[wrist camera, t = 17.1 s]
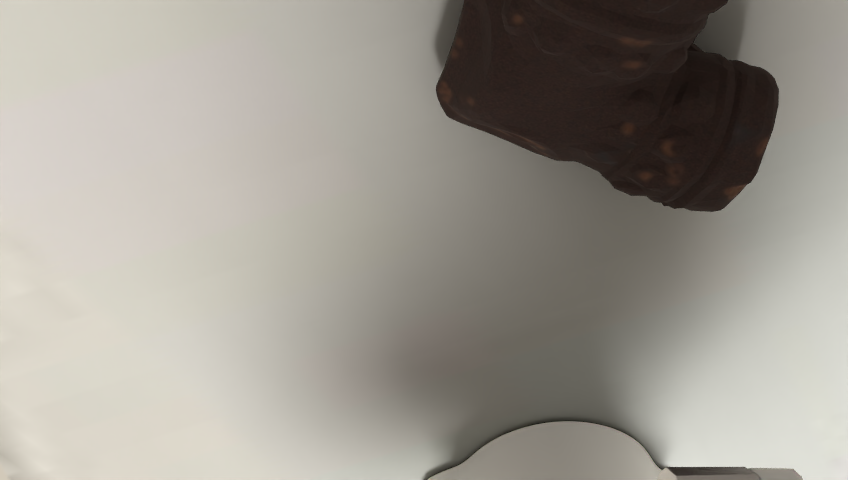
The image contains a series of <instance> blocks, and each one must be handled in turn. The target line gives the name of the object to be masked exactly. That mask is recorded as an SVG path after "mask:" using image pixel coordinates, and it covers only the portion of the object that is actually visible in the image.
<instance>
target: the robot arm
mask: <svg viewBox="0 0 848 480" xmlns="http://www.w3.org/2000/svg"><path fill="white" fill-rule="evenodd" d="M428 480H803V479H802V477H801V476H800V475H799V474H798V473H797V472H796V471H795V470H794V469H787V468H749V469H747V468H746V467H666V468H665V469H663V470H661V469H660V468H659V467H658V466H657V465H656V464H655V463H654V462H653V460H652V458H651V457H650V455H649V454H648V452H647V451H646V450H645V448H644V447H643V446H642V445H641V444H639V443H638V442H637V441H636V440H634V439H633V438H632V437H630V436H628V435H627V434H625V433H623V432H621V431H618V430H616V429H613V428H610V427H607V426H603V425H599V424H594V423H587V422H576V421H561V422H549V423H542V424H536V425H532V426H528V427H524V428H521V429H517V430H515V431H512V432H509V433H507V434H504V435H502V436H500V437H498V438H496V439H494V440H493V441H491V442H489V443H488V444H486V445H485V446H483V447H482V448H480V449H479V450H478V451H477V452H476V453H474V454H473V455H472V456H471V457H470V458H468V459H467V460H466V461H465V462H463V463H462V464H460V465H459V466H456V467H454V468H451V469H448V470H446V471H443V472H441V473H438V474H436V475H434V476H432V477H430V478H429V479H428Z"/></svg>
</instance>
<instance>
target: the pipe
mask: <svg viewBox="0 0 848 480" xmlns="http://www.w3.org/2000/svg"><path fill="white" fill-rule="evenodd" d="M727 2H728V0H464V5H463V9H462V13H461V17H460V20H459V24H458V28H457V32H456V36H455V39H454V42H453V45H452V47H451V50H450V53H449V56H448V59H447V62H446V64H445V67H444V70H443V72H442V74H441V76H440V79H439V81H438V83H437V85H436V92H437V97H438V100H439V102H440V105H441V107H442V108H443V110H444V112H445V113H446V115H447V116H448V117H449V118H451V119H453V120H456V121H458V122H460V123H462V124H465V125H468V126H471V127H474V128H477V129H479V130H482V131H485V132H487V133H490V134H492V135H495V136H497V137H499V138H502V139H504V140H506V141H509V142H511V143H514V144H516V145H518V146H520V147H523V148H525V149H527V150H529V151H532V152H534V153H537V154H540V155H543V156H546V157H548V158H551V159H554V160H559V161H576V162H579V163H582V164H584V165H586V166H588V167H590V168H592V169H594V170H597V171H599V172H600V173H601V174H602V176H603V177H605V178H606V179H607V180H608V181H609V182H610V183H611V185H612V186H613V187H614V188H615V189H618V190H620V191H622V192H625V193H627V194H629V195H631V196H647V197H648V198H649V199H650V200H652V201H654V202H659V203H662V204H663V205H664V206H670V207H672V208H674V209H676V208H685V209H688V210H691V211H710V212H713V211H719V210H721V209H723V208H725V207H726V206H727V205H728V204H729V203H730V202H731V201H732V200H733V199H734V198H735V197H736V196H737V195H738V194H739V193H740V192H741V191H742V189H743V188H744V187H745V186H746V185H747V184H749V183H751V181H752V180H753V178H754V177H755V175H756V174H757V172H758V169H759V166H760V163H761V161H762V158H763V155H764V152H765V149H766V147H767V144H768V141H769V139H770V136H771V133H772V131H773V128H774V123H775V118H776V113H777V108H778V95H779V89H778V86H777V84H776V81H775V78H774V77H773V76H772V75H771V74H770V73H768V72H767V71H765V70H764V69H762V68H760V67H755V66H750V65H748V64H746V63H744V62H741V61H738V60H727V59H726V58H724V57H723V56H721V55H720V54H715V53H705V52H704V51H702V50H701V49H700V48H699V47H697V46H696V45H695V44H693V41H694V40H695V38H696V36H697V34H699V33H700V32H701V30H702V29H703V28H704V26H705V24H706V22H707V18H708V15H709V13H713V12H715V11H717V10H718V9H719V8H721V7H722V6H724V5H725V4H726V3H727Z"/></svg>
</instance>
